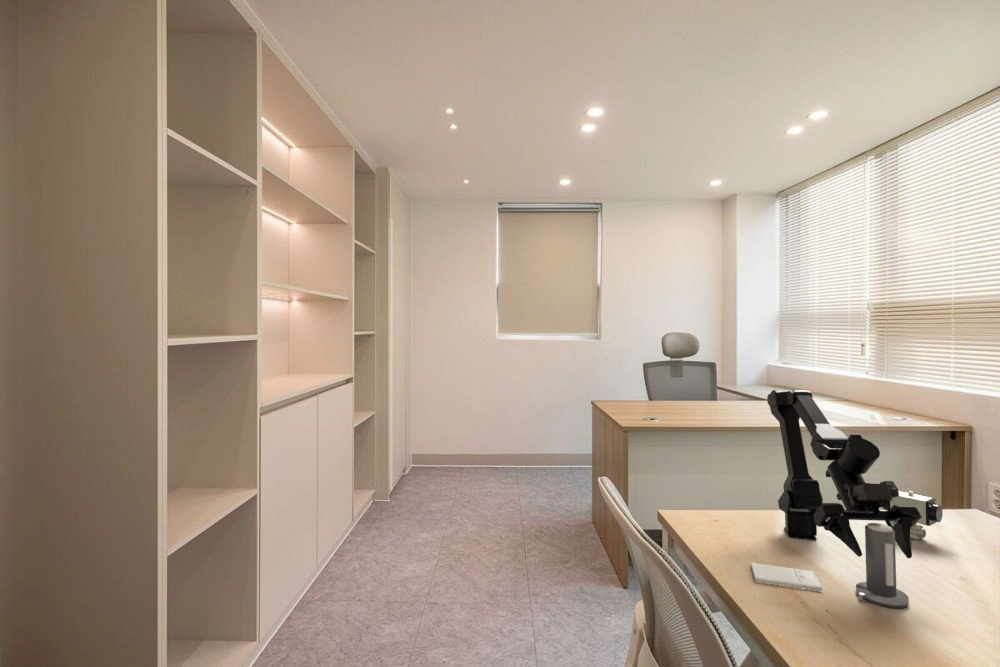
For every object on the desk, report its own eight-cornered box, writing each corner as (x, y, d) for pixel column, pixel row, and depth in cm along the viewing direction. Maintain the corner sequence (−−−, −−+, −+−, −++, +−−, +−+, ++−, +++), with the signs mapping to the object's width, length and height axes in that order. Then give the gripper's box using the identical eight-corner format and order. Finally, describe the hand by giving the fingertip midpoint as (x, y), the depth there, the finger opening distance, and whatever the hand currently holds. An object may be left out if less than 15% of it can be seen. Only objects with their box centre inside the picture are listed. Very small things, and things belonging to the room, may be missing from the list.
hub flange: (879, 585, 105) (879, 580, 105) (920, 606, 96) (919, 599, 96) (842, 590, 103) (841, 584, 103) (880, 611, 95) (880, 604, 95)
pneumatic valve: (936, 546, 125) (935, 498, 125) (882, 532, 135) (880, 487, 135) (945, 541, 128) (943, 495, 128) (890, 527, 138) (889, 484, 138)
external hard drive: (750, 569, 114) (813, 577, 110) (755, 585, 106) (822, 594, 102) (750, 561, 114) (812, 569, 110) (755, 577, 106) (822, 586, 102)
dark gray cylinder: (861, 585, 102) (859, 521, 103) (886, 586, 102) (884, 522, 102) (877, 598, 97) (876, 531, 97) (904, 599, 97) (902, 532, 97)
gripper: (819, 465, 105) (851, 537, 94) (914, 466, 103) (958, 540, 92) (801, 491, 113) (829, 561, 102) (889, 493, 111) (928, 564, 100)
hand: (885, 556), depth 99 cm, fingers open, 9 cm apart
